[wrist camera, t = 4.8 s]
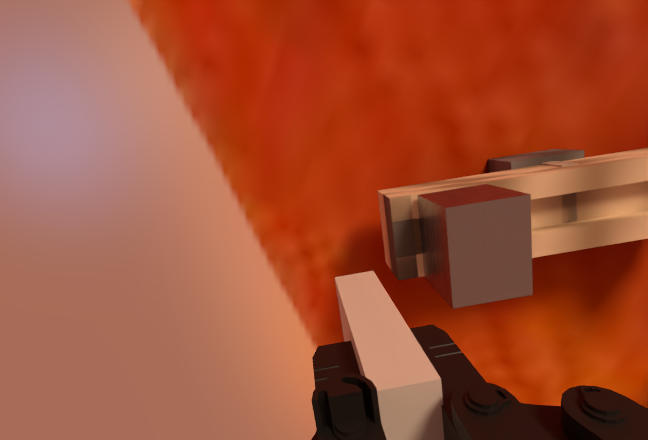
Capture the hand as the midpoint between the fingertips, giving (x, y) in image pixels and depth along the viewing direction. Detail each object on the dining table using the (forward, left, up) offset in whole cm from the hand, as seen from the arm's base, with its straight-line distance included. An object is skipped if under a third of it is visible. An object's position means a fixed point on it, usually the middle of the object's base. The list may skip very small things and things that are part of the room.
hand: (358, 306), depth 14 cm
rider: (0, +7, -8) cm, 11 cm away
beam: (0, +15, -14) cm, 20 cm away
